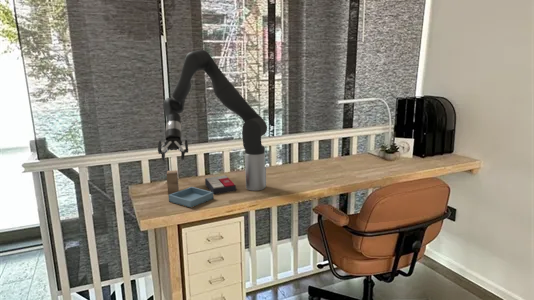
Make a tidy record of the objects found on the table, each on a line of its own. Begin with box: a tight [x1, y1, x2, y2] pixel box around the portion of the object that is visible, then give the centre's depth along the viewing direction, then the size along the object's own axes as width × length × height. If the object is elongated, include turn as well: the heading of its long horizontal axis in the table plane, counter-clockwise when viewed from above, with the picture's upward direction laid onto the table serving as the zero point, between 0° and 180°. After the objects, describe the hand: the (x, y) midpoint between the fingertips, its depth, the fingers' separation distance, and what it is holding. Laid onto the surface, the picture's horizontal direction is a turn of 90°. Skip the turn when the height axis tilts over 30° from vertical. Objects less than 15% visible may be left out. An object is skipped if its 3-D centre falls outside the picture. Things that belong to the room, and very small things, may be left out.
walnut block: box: [166, 169, 180, 195], centre depth 182 cm, size 4×4×10 cm
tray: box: [167, 186, 214, 208], centre depth 173 cm, size 14×14×3 cm
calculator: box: [204, 175, 237, 195], centre depth 189 cm, size 11×4×15 cm
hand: (173, 160), depth 189 cm, fingers open, 8 cm apart
